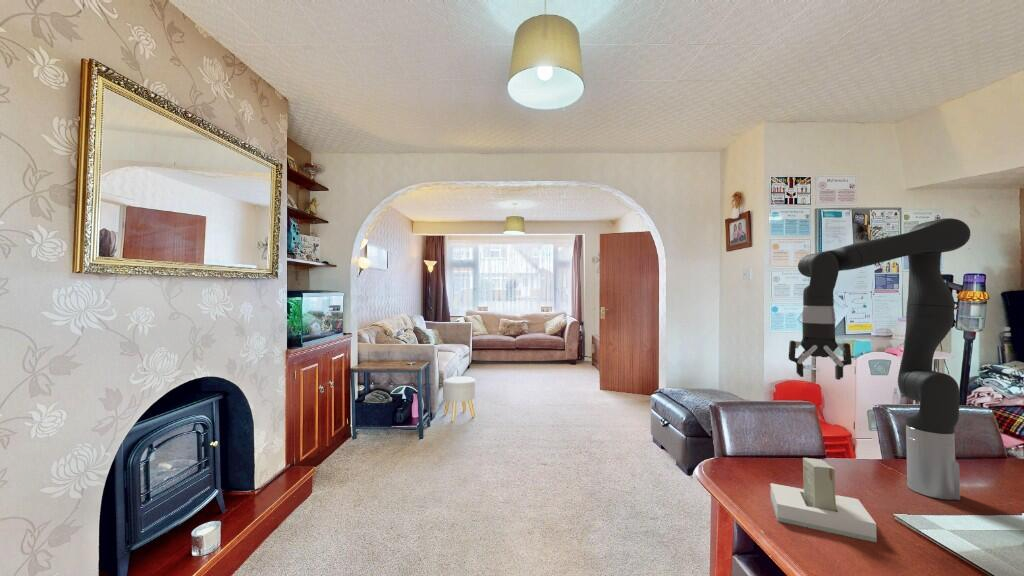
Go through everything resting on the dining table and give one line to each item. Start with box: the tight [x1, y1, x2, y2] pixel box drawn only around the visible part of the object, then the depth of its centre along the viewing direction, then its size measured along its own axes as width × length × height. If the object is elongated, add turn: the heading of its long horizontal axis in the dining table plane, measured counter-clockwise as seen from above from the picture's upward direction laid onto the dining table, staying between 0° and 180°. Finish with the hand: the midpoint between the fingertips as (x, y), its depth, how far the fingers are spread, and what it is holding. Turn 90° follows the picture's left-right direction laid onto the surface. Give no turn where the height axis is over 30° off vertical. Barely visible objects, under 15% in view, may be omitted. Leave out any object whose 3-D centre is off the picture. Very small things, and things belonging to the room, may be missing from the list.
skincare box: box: [802, 457, 836, 512], centre depth 95 cm, size 6×4×12 cm
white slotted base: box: [769, 482, 878, 543], centre depth 95 cm, size 18×12×4 cm, turn 63°
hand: (819, 377), depth 114 cm, fingers open, 8 cm apart
